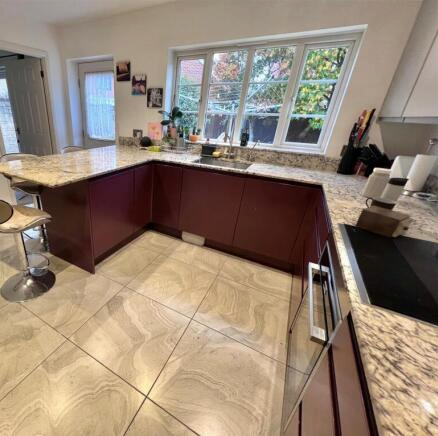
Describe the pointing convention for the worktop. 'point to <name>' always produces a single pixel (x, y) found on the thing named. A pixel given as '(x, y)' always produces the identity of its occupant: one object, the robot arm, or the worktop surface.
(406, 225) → the drawer
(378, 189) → the jar
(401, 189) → the travel mug
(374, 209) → the cabinet
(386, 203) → the coffee mug
